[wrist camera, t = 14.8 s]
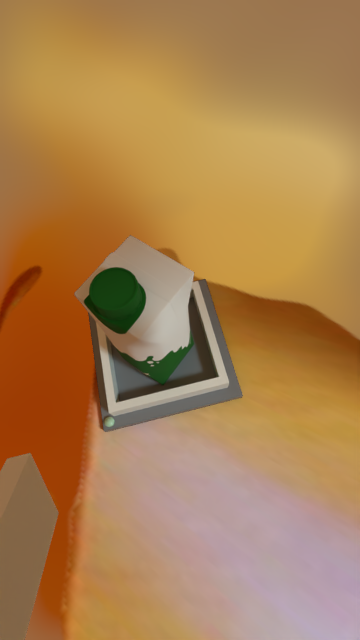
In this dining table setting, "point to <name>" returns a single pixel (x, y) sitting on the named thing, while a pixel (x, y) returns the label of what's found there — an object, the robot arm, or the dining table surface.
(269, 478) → the dining table surface
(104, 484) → the dining table surface
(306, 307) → the dining table surface
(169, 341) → the soya milk
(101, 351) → the dock
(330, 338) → the dining table surface
